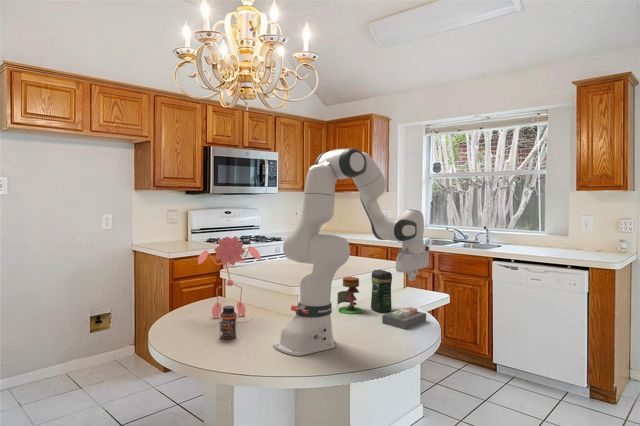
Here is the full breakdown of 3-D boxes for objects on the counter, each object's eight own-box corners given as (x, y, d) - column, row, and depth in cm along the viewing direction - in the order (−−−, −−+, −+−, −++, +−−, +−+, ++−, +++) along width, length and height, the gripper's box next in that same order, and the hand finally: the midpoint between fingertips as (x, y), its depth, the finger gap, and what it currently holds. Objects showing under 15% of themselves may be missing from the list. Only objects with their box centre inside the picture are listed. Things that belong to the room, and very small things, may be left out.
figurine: (197, 315, 184) (198, 234, 182) (257, 312, 191) (258, 234, 189) (197, 327, 170) (197, 239, 167) (262, 323, 176) (263, 238, 174)
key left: (398, 320, 173) (398, 314, 173) (391, 318, 176) (391, 312, 176) (403, 318, 176) (403, 312, 176) (396, 317, 178) (396, 310, 178)
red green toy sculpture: (368, 309, 198) (369, 277, 198) (355, 316, 188) (356, 282, 187) (346, 305, 205) (347, 274, 204) (332, 311, 194) (333, 278, 194)
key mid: (405, 318, 177) (405, 311, 177) (398, 316, 179) (398, 310, 179) (410, 316, 179) (410, 310, 179) (403, 314, 182) (403, 308, 182)
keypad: (404, 329, 170) (405, 321, 170) (382, 323, 178) (382, 315, 177) (426, 321, 181) (426, 313, 181) (404, 315, 189) (404, 308, 189)
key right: (412, 315, 180) (412, 309, 180) (405, 314, 183) (405, 308, 183) (416, 314, 183) (417, 308, 183) (409, 312, 185) (410, 306, 185)
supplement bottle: (220, 340, 154) (220, 309, 154) (219, 335, 160) (219, 305, 159) (237, 339, 156) (237, 308, 155) (235, 333, 162) (236, 304, 161)
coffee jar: (394, 311, 195) (395, 271, 194) (380, 313, 192) (380, 272, 191) (382, 306, 204) (382, 268, 203) (368, 308, 200) (368, 269, 199)
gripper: (405, 250, 172) (404, 284, 173) (431, 246, 186) (430, 278, 187) (392, 249, 176) (391, 282, 177) (419, 245, 191) (418, 276, 192)
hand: (411, 280), depth 182 cm, fingers closed
